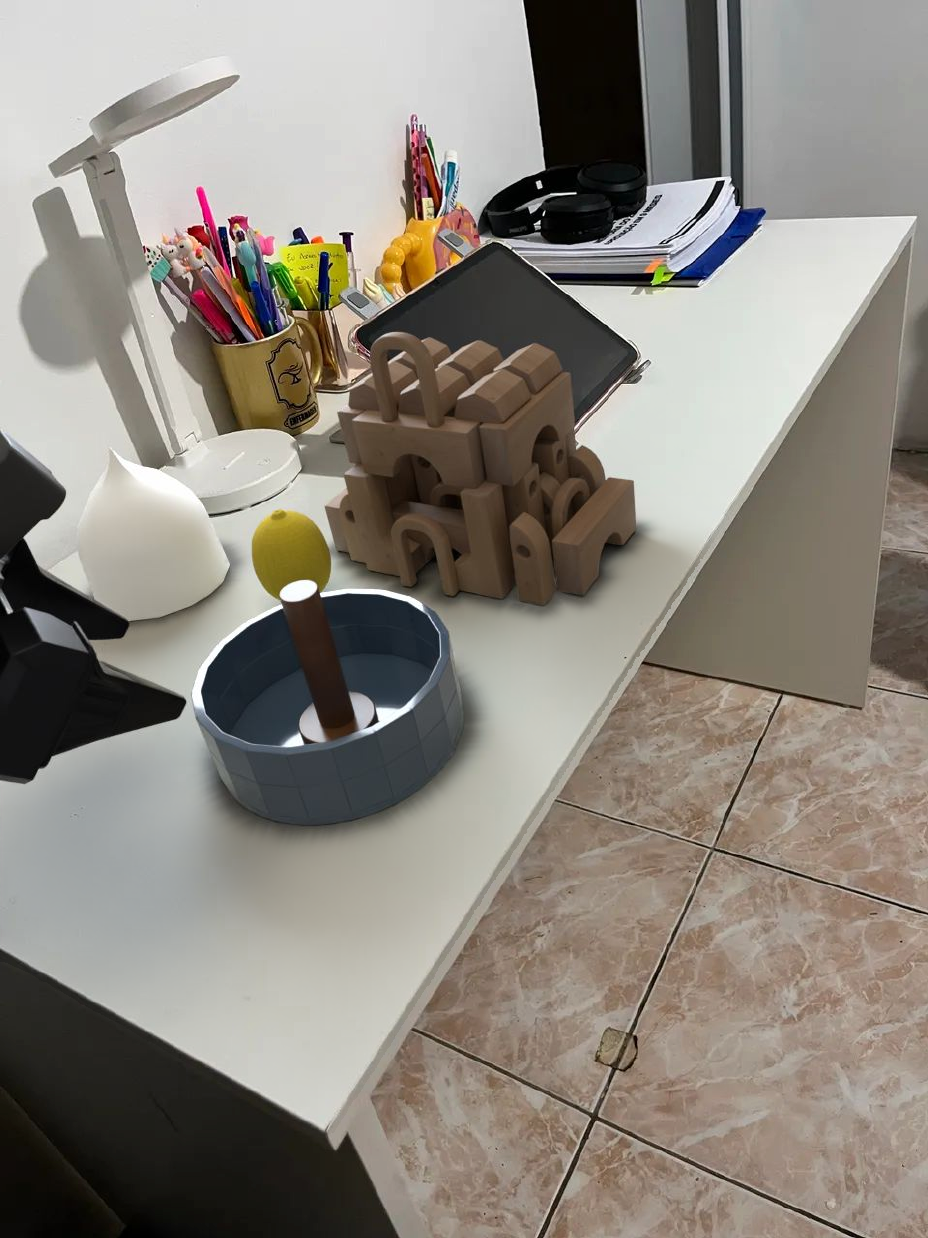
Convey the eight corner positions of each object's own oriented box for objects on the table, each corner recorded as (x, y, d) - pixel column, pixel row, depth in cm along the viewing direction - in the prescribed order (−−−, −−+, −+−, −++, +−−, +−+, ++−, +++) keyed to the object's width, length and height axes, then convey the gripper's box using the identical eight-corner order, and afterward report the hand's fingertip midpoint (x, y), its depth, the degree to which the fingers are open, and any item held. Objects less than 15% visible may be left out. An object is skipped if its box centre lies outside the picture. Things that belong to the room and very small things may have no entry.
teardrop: (229, 533, 82) (185, 403, 75) (230, 599, 73) (180, 459, 66) (102, 563, 81) (45, 435, 75) (87, 635, 72) (21, 496, 65)
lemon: (275, 588, 74) (246, 497, 69) (345, 579, 73) (320, 487, 69) (263, 629, 69) (231, 535, 65) (337, 620, 69) (310, 525, 64)
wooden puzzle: (647, 516, 74) (636, 273, 63) (564, 622, 64) (534, 356, 54) (415, 482, 85) (372, 270, 74) (315, 567, 75) (249, 338, 65)
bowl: (360, 862, 50) (336, 789, 47) (169, 774, 58) (138, 706, 55) (510, 690, 59) (498, 619, 56) (328, 635, 67) (309, 570, 64)
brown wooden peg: (344, 761, 55) (301, 624, 50) (284, 738, 58) (237, 605, 52) (393, 711, 59) (358, 576, 53) (334, 691, 61) (295, 560, 55)
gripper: (-82, 467, 31) (298, 602, 42) (-137, 351, 45) (161, 475, 55) (-212, 756, 33) (188, 815, 43) (-227, 559, 46) (80, 641, 57)
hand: (152, 666), depth 50 cm, fingers open, 9 cm apart
